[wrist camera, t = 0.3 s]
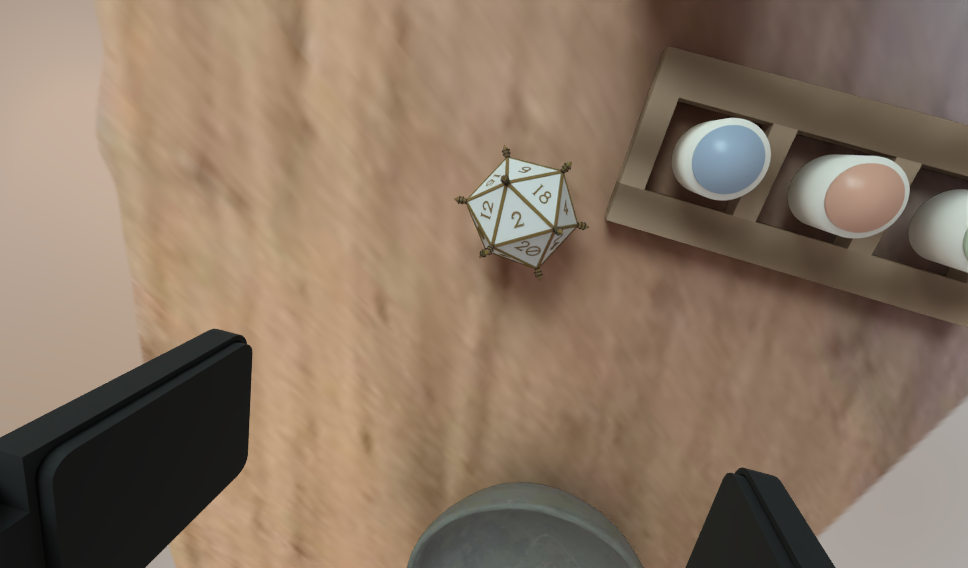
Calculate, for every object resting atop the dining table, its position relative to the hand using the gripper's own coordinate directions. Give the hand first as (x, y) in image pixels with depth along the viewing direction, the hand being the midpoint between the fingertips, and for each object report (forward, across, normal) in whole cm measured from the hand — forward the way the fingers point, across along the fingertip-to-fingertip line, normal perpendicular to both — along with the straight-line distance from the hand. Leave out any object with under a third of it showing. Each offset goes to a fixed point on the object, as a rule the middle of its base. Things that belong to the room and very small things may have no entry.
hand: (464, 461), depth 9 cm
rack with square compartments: (+30, -18, -6) cm, 36 cm away
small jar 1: (+28, -10, -7) cm, 30 cm away
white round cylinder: (+28, -26, -6) cm, 39 cm away
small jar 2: (+28, -18, -6) cm, 34 cm away
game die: (+31, +2, -1) cm, 31 cm away
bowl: (+31, -6, +31) cm, 44 cm away
